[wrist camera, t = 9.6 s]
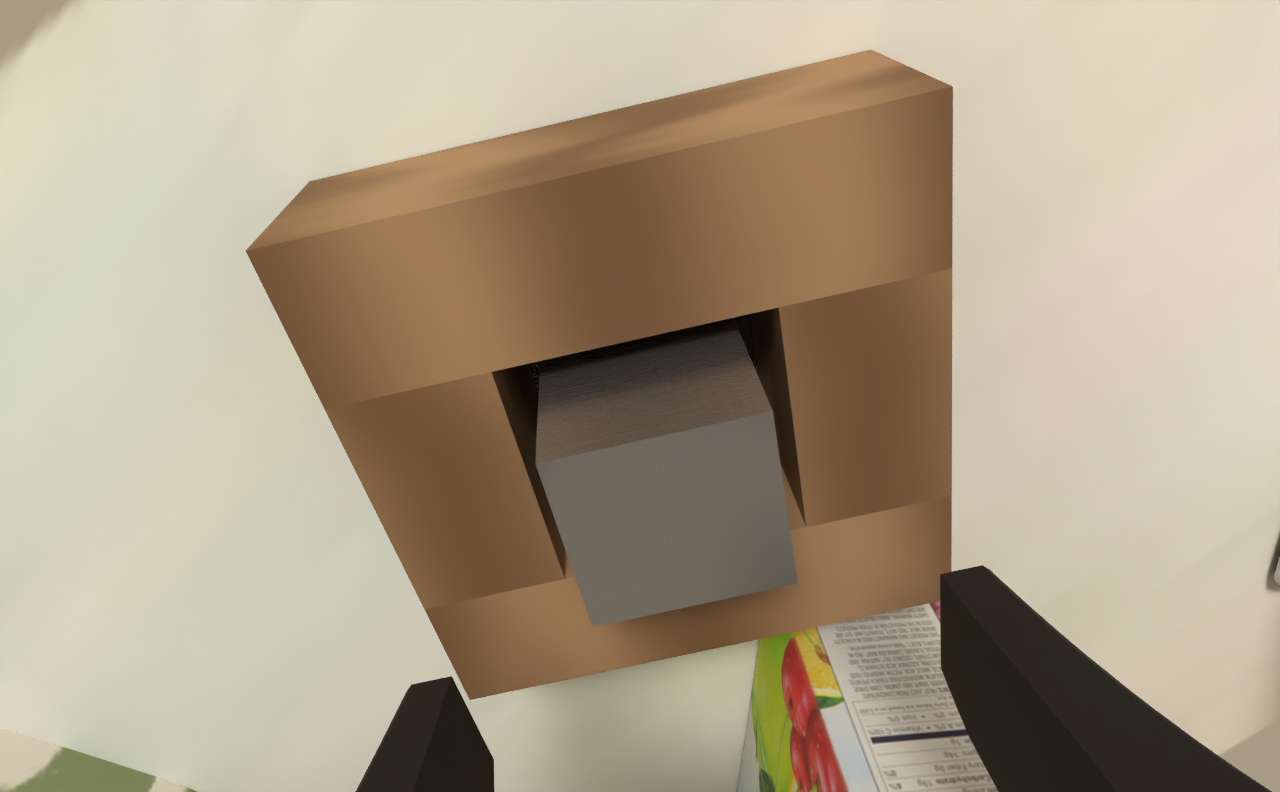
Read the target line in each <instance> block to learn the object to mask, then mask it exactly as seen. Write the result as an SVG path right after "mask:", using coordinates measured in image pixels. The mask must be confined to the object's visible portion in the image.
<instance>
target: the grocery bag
mask: <svg viewBox="0 0 1280 792" xmlns="http://www.w3.org/2000/svg"><path fill="white" fill-rule="evenodd" d="M0 792H196V791H194V790H192V789H190V788H188V787H186V786H183V785H180V784H177V783H174V782H171V781H168V780H165V779H161V778H158V777H155V776H152V775H149V774H146V773H143V772H140V771H137V770H133V769H130V768H127V767H124V766H121V765H118V764H115V763H112V762H108V761H105V760H102V759H99V758H96V757H93V756H90V755H87V754H83V753H80V752H77V751H74V750H71V749H68V748H65V747H62V746H58V745H55V744H52V743H49V742H46V741H43V740H40V739H37V738H34V737H30V736H27V735H24V734H21V733H18V732H15V731H12V730H9V729H5V728H2V727H0Z"/></svg>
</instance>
